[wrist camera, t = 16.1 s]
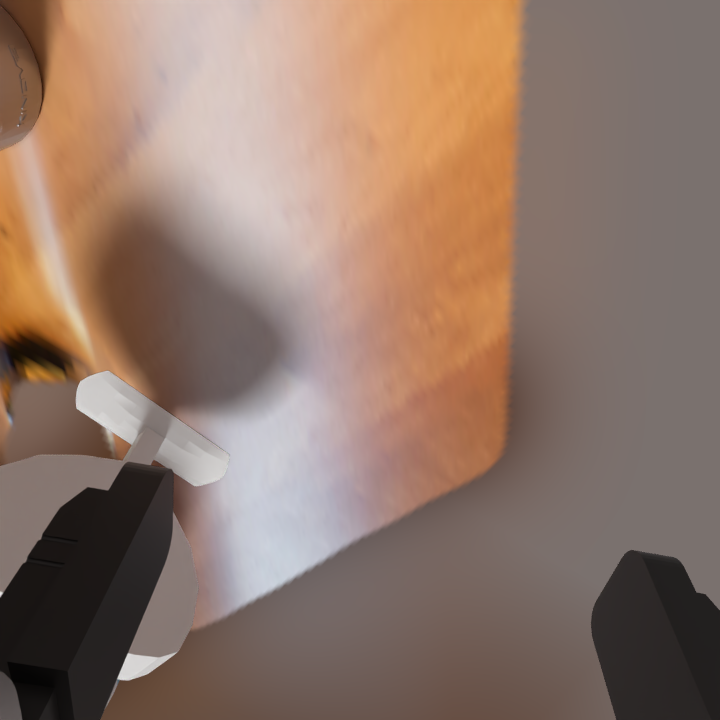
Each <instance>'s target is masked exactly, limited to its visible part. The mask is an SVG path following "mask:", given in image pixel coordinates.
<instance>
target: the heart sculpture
mask: <svg viewBox="0 0 720 720" xmlns="http://www.w3.org/2000/svg"><path fill="white" fill-rule="evenodd" d="M76 408H77V409H78V410H80V411H81V412H83V413H84V414H86V415H87V416H89V417H90V418H92V419H93V420H95V421H96V422H98V423H99V424H101V425H102V426H104V427H105V428H107V429H108V430H110V431H111V432H113V433H114V434H116V435H118V436H119V437H121V438H122V439H124V440H125V441H127V442H128V443H130V444H131V445H132V446H131V447H130V449H129V451H128V452H127V454H126V456H125V457H124V459H123V461H120V460H113V459H106V458H99V457H92V456H85V455H37V456H34V457H30V458H27V459H23V460H19V461H16V462H13V463H9V464H5V465H2V466H0V597H1V595H2V594H3V592H4V591H5V589H6V588H7V586H8V585H9V583H10V582H11V580H12V579H13V577H14V576H15V574H16V573H17V571H18V570H19V568H20V567H21V565H22V564H23V563H25V562H26V560H27V556H28V555H29V553H30V552H31V550H32V549H33V547H34V546H35V544H36V543H37V541H38V540H41V538H42V534H43V532H44V531H45V529H46V528H47V526H48V525H49V523H50V522H51V520H52V519H53V517H54V516H55V514H56V513H57V511H58V510H59V508H60V507H61V506H63V505H64V504H65V503H67V502H68V501H69V500H71V499H72V498H73V497H75V496H76V495H78V494H79V493H80V492H82V491H83V490H84V489H86V488H87V487H91V488H97V489H103V490H109V488H110V487H111V485H112V483H113V482H114V480H115V478H116V477H117V475H118V473H119V471H120V470H121V468H122V467H123V465H124V464H125V463H127V462H134V463H140V464H146V465H151V464H152V462H153V460H155V461H157V462H158V463H160V464H162V465H163V466H165V467H166V468H169V469H172V470H173V472H174V473H175V474H177V475H178V476H180V477H181V478H183V479H184V480H186V481H187V482H189V483H190V484H192V485H193V486H195V487H196V486H200V485H205V484H209V483H212V482H215V481H217V480H219V479H221V478H222V477H223V475H224V474H225V472H226V469H227V466H228V462H229V456H230V455H229V454H228V453H226V452H225V451H223V450H222V449H220V448H219V447H218V446H216V445H215V444H213V443H212V442H210V441H209V440H207V439H206V438H205V437H203V436H202V435H200V434H199V433H197V432H196V431H194V430H193V429H192V428H190V427H189V426H187V425H186V424H184V423H183V422H182V421H180V420H179V419H177V418H176V417H174V416H173V415H171V414H170V413H169V412H167V411H166V410H164V409H163V408H161V407H160V406H158V405H157V404H156V403H154V402H153V401H151V400H150V399H148V398H147V397H146V396H144V395H143V394H141V393H140V392H138V391H137V390H135V389H134V388H133V387H131V386H130V385H128V384H127V383H125V382H124V381H122V380H121V379H120V378H118V377H117V376H115V375H114V374H112V373H111V372H109V371H104V372H100V373H97V374H94V375H91V376H89V377H87V378H85V379H84V380H82V381H80V383H79V386H78V388H77V394H76ZM198 589H199V585H198V580H197V575H196V570H195V565H194V560H193V555H192V550H191V546H190V544H189V542H188V540H187V538H186V536H185V534H184V532H183V530H182V528H181V526H180V524H179V522H178V520H177V518H176V516H175V514H174V512H173V532H172V539H171V545H170V549H169V553H168V556H167V560H166V562H165V565H164V568H163V570H162V573H161V575H160V577H159V580H158V582H157V585H156V587H155V589H154V592H153V594H152V597H151V599H150V601H149V604H148V606H147V609H146V611H145V613H144V616H143V618H142V621H141V623H140V625H139V628H138V630H137V633H136V635H135V637H134V640H133V642H132V645H131V647H130V649H129V652H128V654H127V657H126V659H125V661H124V664H123V666H122V669H121V671H120V673H119V676H118V678H117V679H118V680H131V679H134V678H137V677H140V676H143V675H146V674H148V673H150V672H151V671H152V670H154V669H155V668H157V667H158V666H159V665H160V664H162V663H163V662H165V661H166V660H168V659H169V658H170V657H172V656H173V655H174V654H176V653H177V652H178V651H179V649H180V647H181V645H182V644H183V642H184V640H185V638H186V636H187V634H188V632H189V630H190V629H191V627H192V625H193V619H194V613H195V607H196V601H197V595H198Z"/></svg>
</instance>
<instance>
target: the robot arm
mask: <svg viewBox="0 0 720 720" xmlns="http://www.w3.org/2000/svg"><path fill="white" fill-rule="evenodd" d="M41 103H42V83H41V77H40V72H39V67H38V64H37V61H36V59H35V56H34V53H33V51H32V48H31V46H30V44H29V42H28V41H27V39H26V37H25V35H24V34H23V32H22V30H21V29H20V27H19V26H18V25H17V24H16V22H15V21H14V20H13V19H12V17H11V16H10V15H9V14H8V12H7V11H6V10H4V9H3V8H2V7H1V6H0V150H3V149H5V148H8V147H11V146H12V145H14V144H16V143H17V142H19V141H21V140H22V139H23V138H24V137H25V136H26V135H27V134H28V133H29V132H30V131H31V130H32V128H33V126H34V124H35V122H36V120H37V118H38V116H39V111H40V107H41ZM173 483H174V475H173V470H172V469H169V468H163V467H158V466H152V465H146V464H140V463H134V462H127V463H125V464H124V465H123V467H122V468H121V470H120V471H119V473H118V475H117V477H116V478H115V480H114V482H113V483H112V485H111V487H110V488H109V490H103V489H97V488H91V487H87V488H86V489H84V490H83V491H82V492H80V493H79V494H78V495H76V496H75V497H73V498H72V499H71V500H69V501H68V502H67V503H65V504H64V505H63V506H61V507H60V508H59V510H58V511H57V513H56V514H55V516H54V517H53V519H52V520H51V522H50V523H49V525H48V526H47V528H46V529H45V531H44V532H43V534H42V538H41V540H38V541H37V543H36V544H35V546H34V547H33V549H32V550H31V552H30V553H29V555H28V556H27V560H26V562H25V563H23V564H22V565H21V567H20V568H19V570H18V571H17V573H16V574H15V576H14V577H13V579H12V580H11V582H10V583H9V585H8V586H7V588H6V589H5V591H4V592H3V594H2V595H1V597H0V720H100V719H101V717H102V714H103V712H104V709H105V707H106V705H107V702H108V700H109V697H110V695H111V693H112V690H113V688H114V685H115V683H116V681H117V678H118V676H119V673H120V671H121V669H122V666H123V664H124V661H125V659H126V657H127V654H128V652H129V649H130V647H131V645H132V642H133V640H134V637H135V635H136V633H137V630H138V628H139V625H140V623H141V621H142V618H143V616H144V613H145V611H146V609H147V606H148V604H149V601H150V599H151V597H152V594H153V592H154V589H155V587H156V585H157V582H158V580H159V577H160V575H161V573H162V570H163V568H164V565H165V562H166V560H167V556H168V553H169V549H170V545H171V539H172V532H173ZM591 628H592V637H593V641H594V645H595V648H596V651H597V655H598V658H599V662H600V665H601V669H602V672H603V675H604V679H605V682H606V686H607V689H608V692H609V696H610V699H611V703H612V706H613V710H614V713H615V716H616V720H720V610H719V609H718V608H717V607H716V606H715V605H714V604H713V602H712V601H711V600H710V599H709V598H708V597H707V596H706V595H705V594H701V593H696V591H695V589H694V587H693V585H692V583H691V580H690V578H689V576H688V574H687V572H686V570H685V568H684V566H683V565H682V563H681V562H680V561H679V560H678V559H676V558H674V557H669V556H663V555H658V554H652V553H645V552H640V551H634V550H630V551H628V552H627V553H626V554H624V556H623V557H622V559H621V561H620V562H619V564H618V566H617V567H616V569H615V571H614V572H613V574H612V576H611V577H610V579H609V581H608V583H607V584H606V586H605V587H604V589H603V591H602V592H601V594H600V596H599V597H598V599H597V601H596V603H595V605H594V608H593V612H592V620H591Z"/></svg>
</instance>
